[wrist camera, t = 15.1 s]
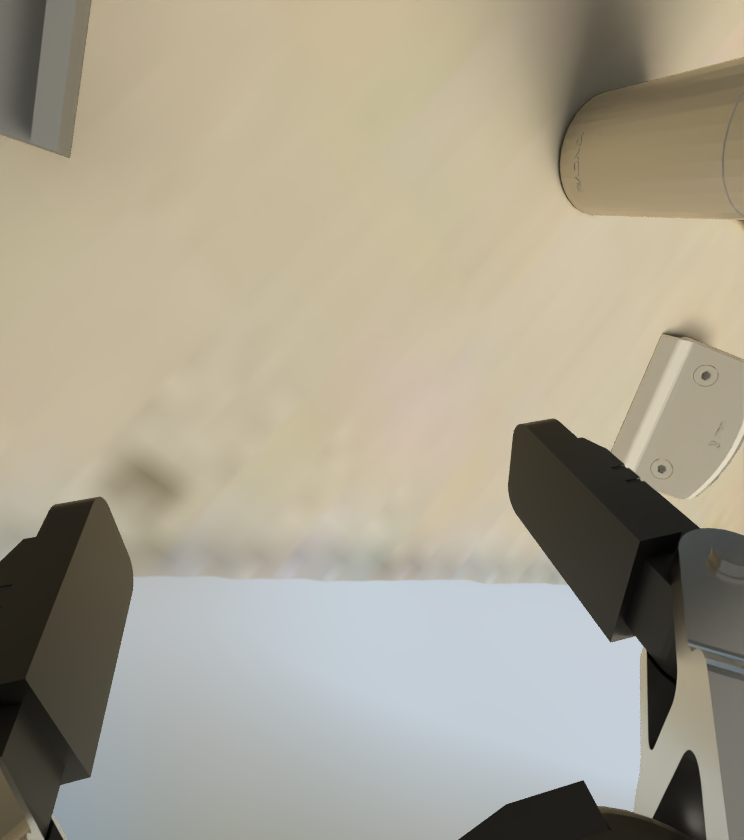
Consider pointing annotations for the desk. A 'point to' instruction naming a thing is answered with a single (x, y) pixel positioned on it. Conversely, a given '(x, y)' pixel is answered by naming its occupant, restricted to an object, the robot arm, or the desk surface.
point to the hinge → (684, 418)
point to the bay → (41, 70)
